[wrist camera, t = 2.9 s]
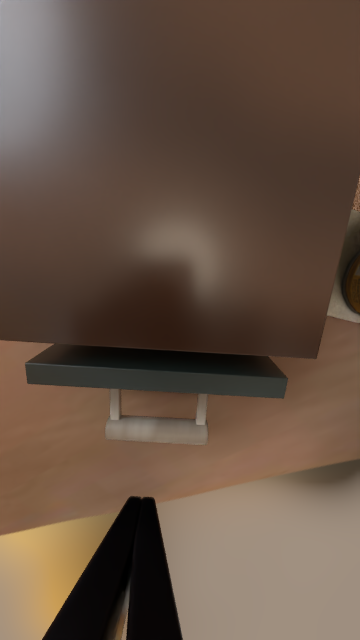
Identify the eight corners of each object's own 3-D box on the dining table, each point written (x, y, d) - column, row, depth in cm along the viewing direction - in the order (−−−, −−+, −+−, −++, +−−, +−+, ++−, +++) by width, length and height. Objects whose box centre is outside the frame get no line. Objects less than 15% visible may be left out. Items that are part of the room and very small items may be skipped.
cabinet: (260, 318, 17) (317, 359, 10) (73, 306, 17) (-7, 340, 10) (302, 47, 13) (454, -220, 6) (55, 29, 13) (-105, -265, 6)
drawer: (242, 409, 19) (269, 473, 13) (80, 400, 18) (36, 461, 13) (287, 113, 13) (365, 7, 8) (62, 98, 13) (-25, -22, 8)
